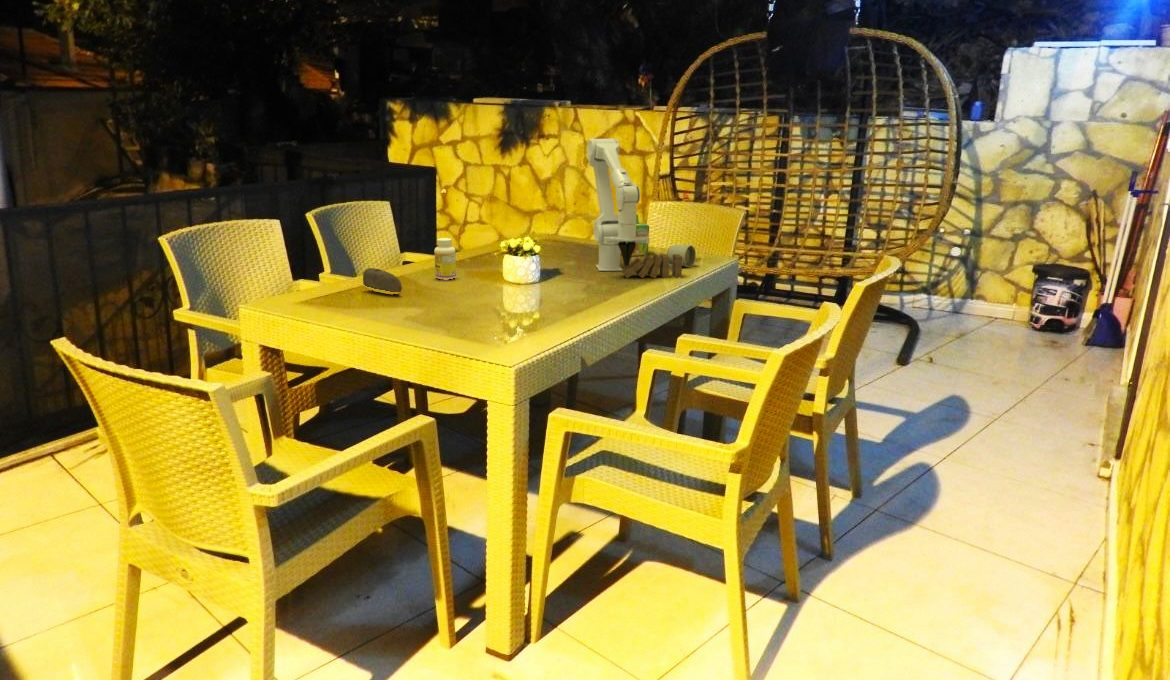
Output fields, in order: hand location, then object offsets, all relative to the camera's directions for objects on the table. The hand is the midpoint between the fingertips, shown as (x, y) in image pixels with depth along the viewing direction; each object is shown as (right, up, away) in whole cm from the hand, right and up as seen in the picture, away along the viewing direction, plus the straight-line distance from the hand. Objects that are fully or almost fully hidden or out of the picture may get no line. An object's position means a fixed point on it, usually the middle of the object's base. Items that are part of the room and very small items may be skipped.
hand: (626, 265), depth 277 cm
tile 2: (+4, -3, +1) cm, 5 cm away
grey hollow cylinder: (+19, +1, +20) cm, 28 cm away
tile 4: (+13, -3, +3) cm, 13 cm away
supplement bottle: (-58, -5, -4) cm, 58 cm away
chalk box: (+4, +8, +42) cm, 43 cm away
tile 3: (+8, -3, +2) cm, 9 cm away
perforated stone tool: (-73, -11, -25) cm, 78 cm away
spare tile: (-1, -3, +1) cm, 3 cm away
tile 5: (+17, -3, +3) cm, 17 cm away
